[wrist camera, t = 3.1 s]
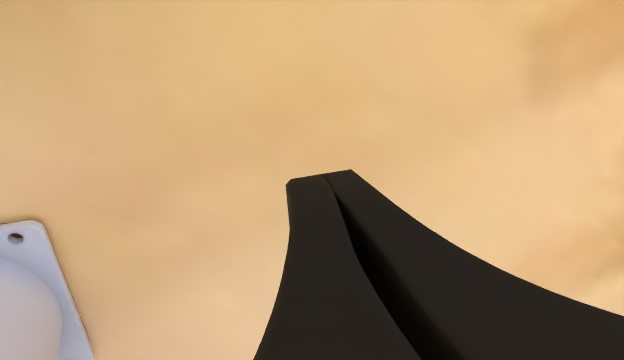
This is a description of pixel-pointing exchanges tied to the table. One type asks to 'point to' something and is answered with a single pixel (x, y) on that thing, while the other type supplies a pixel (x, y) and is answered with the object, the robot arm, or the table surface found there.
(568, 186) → the table surface
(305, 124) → the table surface
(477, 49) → the table surface
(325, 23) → the table surface
